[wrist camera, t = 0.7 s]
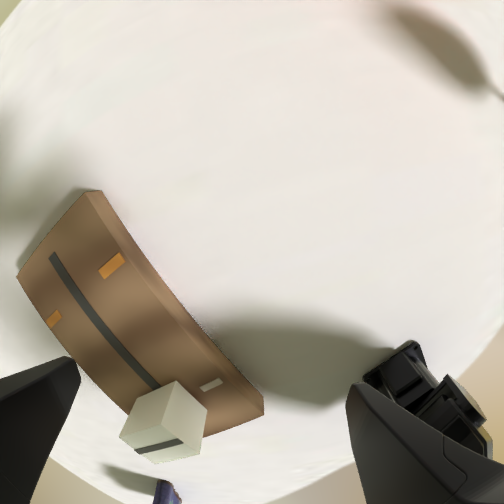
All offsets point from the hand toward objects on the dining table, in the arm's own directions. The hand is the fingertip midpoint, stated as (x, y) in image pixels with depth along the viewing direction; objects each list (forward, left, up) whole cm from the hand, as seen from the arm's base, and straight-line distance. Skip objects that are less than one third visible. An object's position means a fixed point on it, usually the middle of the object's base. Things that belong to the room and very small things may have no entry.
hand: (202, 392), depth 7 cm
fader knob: (-7, +11, -11) cm, 17 cm away
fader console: (-1, +11, -14) cm, 18 cm away
